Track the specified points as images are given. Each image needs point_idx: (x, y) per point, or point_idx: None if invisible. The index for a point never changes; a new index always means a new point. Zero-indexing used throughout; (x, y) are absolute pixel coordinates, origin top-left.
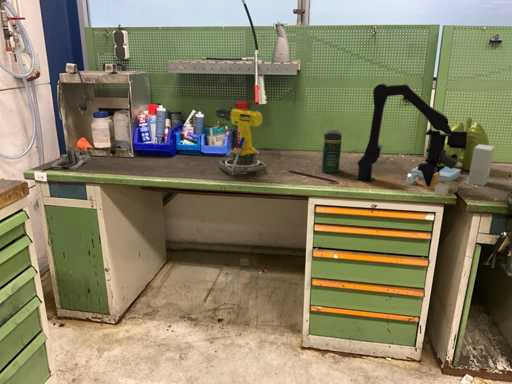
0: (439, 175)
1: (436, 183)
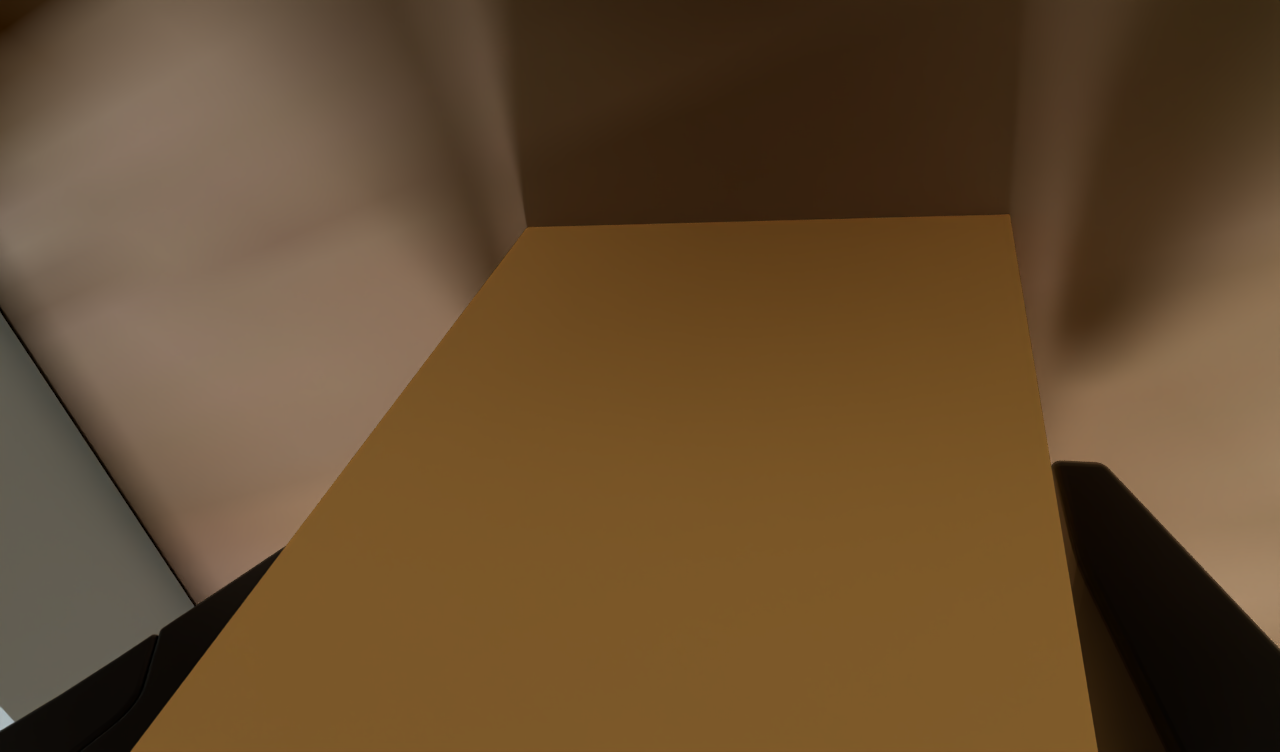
0: (273, 630)
1: (757, 352)
